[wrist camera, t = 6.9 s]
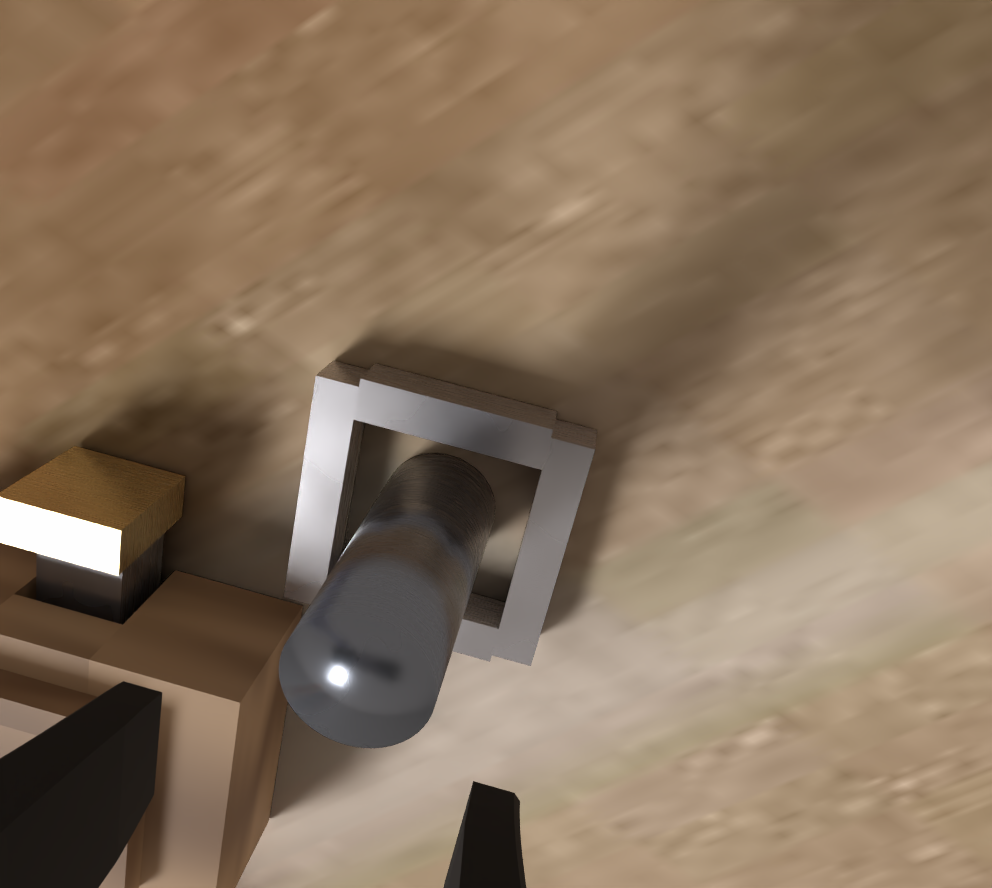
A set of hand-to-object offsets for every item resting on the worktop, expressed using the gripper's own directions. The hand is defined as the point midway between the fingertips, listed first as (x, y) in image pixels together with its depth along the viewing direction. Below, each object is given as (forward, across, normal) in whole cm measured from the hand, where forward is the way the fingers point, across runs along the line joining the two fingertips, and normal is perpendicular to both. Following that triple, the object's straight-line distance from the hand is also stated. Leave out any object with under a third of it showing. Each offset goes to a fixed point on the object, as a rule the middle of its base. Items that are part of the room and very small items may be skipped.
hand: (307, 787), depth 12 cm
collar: (+9, 0, 0) cm, 9 cm away
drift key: (+9, +8, +6) cm, 13 cm away
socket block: (+9, +8, +8) cm, 15 cm away
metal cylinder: (+9, 0, 0) cm, 9 cm away
